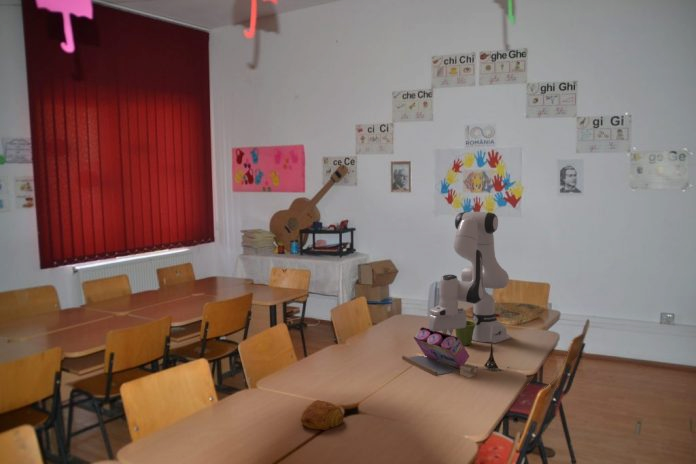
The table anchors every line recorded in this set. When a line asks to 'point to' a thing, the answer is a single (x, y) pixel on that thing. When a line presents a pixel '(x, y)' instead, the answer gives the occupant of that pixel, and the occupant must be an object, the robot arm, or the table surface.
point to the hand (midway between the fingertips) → (447, 338)
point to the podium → (429, 365)
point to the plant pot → (466, 333)
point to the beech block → (468, 370)
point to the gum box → (442, 347)
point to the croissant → (321, 415)
